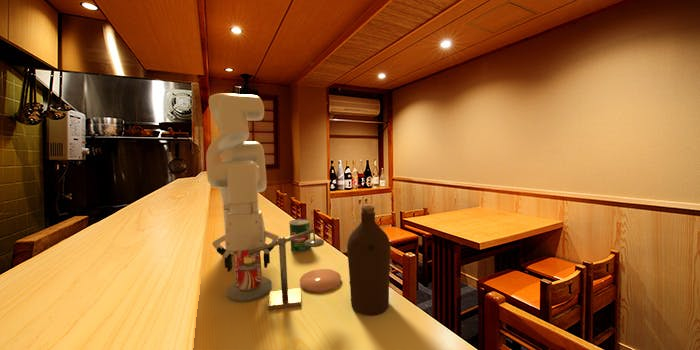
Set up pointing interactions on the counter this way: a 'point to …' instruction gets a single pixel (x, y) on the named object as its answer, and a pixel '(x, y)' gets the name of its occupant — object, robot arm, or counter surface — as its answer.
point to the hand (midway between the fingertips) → (248, 267)
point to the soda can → (247, 272)
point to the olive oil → (369, 265)
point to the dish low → (249, 291)
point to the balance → (285, 295)
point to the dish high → (320, 280)
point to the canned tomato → (297, 228)
